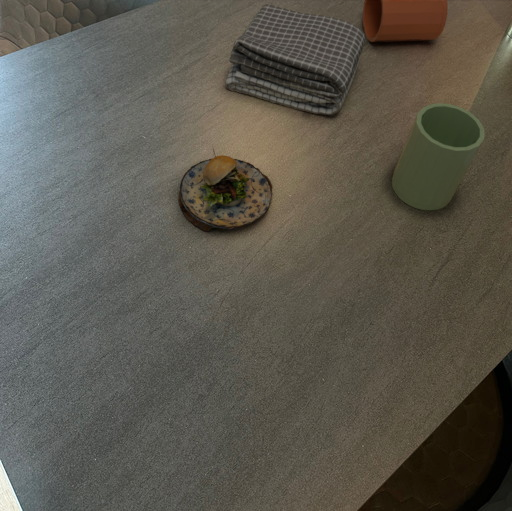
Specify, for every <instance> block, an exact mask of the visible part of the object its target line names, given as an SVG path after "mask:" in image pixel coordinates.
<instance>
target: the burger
mask: <svg viewBox="0 0 512 511" xmlns="http://www.w3.org/2000/svg"><path fill="white" fill-rule="evenodd" d="M212 151H213V155H214V157H213V158H209V159H205V160H201V161H199V162H197V163H196V164H194V165H191V166H190V168H188V170H187V171H185V173H184V175H183V176H182V178H181V180H180V183H179V191H178V203H179V208H180V209H181V212H182V214H183V216H185V218H186V219H187V220H188V221H189V222H190V223H191V224H193V226H195V227H198V228H200V229H201V230H202V231H204V232H209V231H210V230H212V229H213V228H214V229H221V230H232V229H234V228H239V227H244V226H248V225H250V224H252V223H254V222H256V221H257V220H258V219H259V218H261V217H262V216H263V215H264V214H266V213H267V212H268V210H269V208H270V204H271V201H272V198H273V185H272V182H271V180H270V178H269V177H268V175H266V174H265V173H262V172H261V170H260V169H259V167H256V166H255V165H254V164H252V163H251V162H247V161H244V160H241V159H239V158H233V157H231V156H228V155H223V154H222V155H216V153H215V149H214V146H213V145H212Z"/></svg>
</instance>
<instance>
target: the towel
mask: <svg viewBox="0 0 512 511" xmlns="http://www.w3.org/2000/svg"><path fill="white" fill-rule="evenodd" d="M367 42H368V39H367V37H366V35H365V33H364V30H362V29H361V28H359V27H358V26H356V25H354V24H352V23H351V22H349V21H346V20H343V19H339V18H337V17H331V16H326V15H320V14H314V13H313V14H310V13H304V12H300V11H295V10H292V9H291V10H289V9H288V8H283V7H279V6H275V5H273V4H268V3H267V4H264V5H262V7H261V8H260V9H259V10H258V11H257V13H256V14H255V15H254V17H253V19H252V20H251V22H250V23H249V25H248V26H247V28H246V29H245V30H244V32H243V33H242V34H241V35H240V36H238V38H237V39H236V40H234V44H233V46H232V49H231V54H230V57H229V59H228V61H229V63H231V64H232V65H231V67H230V69H229V73H228V75H227V77H226V81H225V82H224V83H225V84H224V86H225V87H226V88H227V89H228V90H229V91H231V92H232V91H233V92H236V93H240V94H242V93H243V94H245V95H249V96H251V97H253V98H254V97H255V98H258V99H261V100H264V101H267V102H270V103H273V104H278V105H280V106H285V107H288V108H292V109H293V110H299V111H302V112H307V113H312V114H314V115H323V116H333V115H335V114H336V113H339V111H341V110H342V107H343V105H344V103H345V100H346V99H347V96H348V93H349V91H350V88H351V86H352V84H353V81H354V79H355V76H356V73H357V70H358V67H359V65H360V62H361V54H362V52H363V50H364V47H365V46H366V43H367Z"/></svg>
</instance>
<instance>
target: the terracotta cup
mask: <svg viewBox="0 0 512 511" xmlns="http://www.w3.org/2000/svg"><path fill="white" fill-rule="evenodd" d="M448 6H449V5H448V0H364V1H363V7H362V27H363V33H364V34H365V36H366V40H367V41H369V42H370V43H384V42H386V43H387V42H389V43H390V42H418V41H419V42H420V41H421V42H423V41H434V40H436V39H438V38H439V37H440V36H441V34H442V33H443V31H444V29H445V26H446V23H447V18H448V11H449V10H448V8H449V7H448Z"/></svg>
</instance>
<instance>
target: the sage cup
mask: <svg viewBox="0 0 512 511" xmlns="http://www.w3.org/2000/svg"><path fill="white" fill-rule="evenodd" d="M484 141H485V127H484V125H483V124H482V123H481V120H480V119H479V118H477V116H475V115H474V114H473V113H472V112H471V111H469V110H467V109H465V108H462V107H461V106H458V105H455V104H450V103H447V102H446V103H445V102H439V103H438V102H437V103H431V104H428V105H426V106H423V107H422V108H421V109H420V110H419V111H418V112H417V113H416V116H415V119H414V120H413V123H412V126H411V129H410V131H409V134H408V136H407V138H406V141H405V143H404V146H403V148H402V151H401V153H400V155H399V158H398V160H397V163H396V165H395V168H394V170H393V174H392V177H391V187H392V189H393V192H394V193H395V195H396V196H397V197H398V199H400V201H402V202H403V203H405V204H406V205H408V206H410V207H411V208H415V209H417V210H422V211H437V210H441V209H443V208H445V207H446V206H448V205H449V203H450V202H451V201H452V199H453V197H454V196H455V194H456V192H457V190H458V189H459V186H460V185H461V183H462V181H463V179H464V178H465V176H466V174H467V172H468V170H469V168H470V166H471V164H472V163H473V161H474V159H475V158H476V155H477V153H478V152H479V150H480V148H481V146H482V144H483V142H484Z"/></svg>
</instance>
